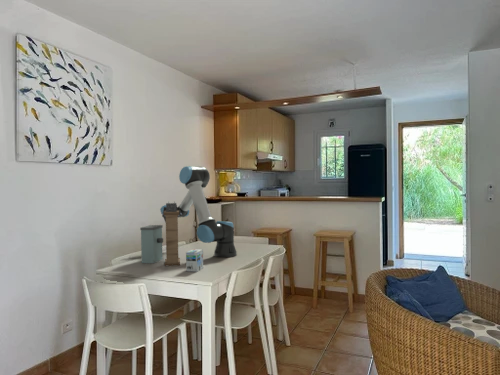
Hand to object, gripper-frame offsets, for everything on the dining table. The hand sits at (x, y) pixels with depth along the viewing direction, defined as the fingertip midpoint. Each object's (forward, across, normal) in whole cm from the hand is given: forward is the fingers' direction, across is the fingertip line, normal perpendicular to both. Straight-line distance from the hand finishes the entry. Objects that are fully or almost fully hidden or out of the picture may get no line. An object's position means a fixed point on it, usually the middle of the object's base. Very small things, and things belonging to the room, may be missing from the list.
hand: (171, 203), depth 241 cm
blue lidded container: (-17, +11, -32) cm, 38 cm away
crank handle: (+2, 0, -6) cm, 6 cm away
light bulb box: (+11, -12, -49) cm, 51 cm away
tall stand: (-8, 0, -37) cm, 38 cm away
